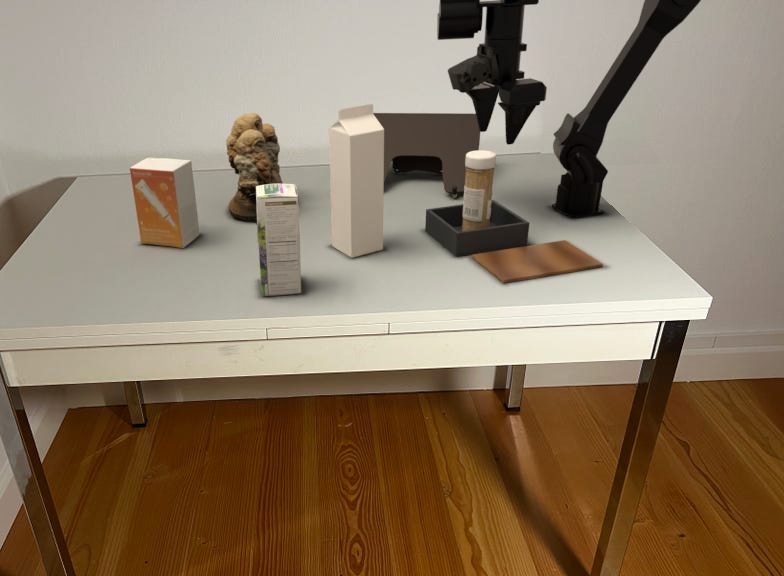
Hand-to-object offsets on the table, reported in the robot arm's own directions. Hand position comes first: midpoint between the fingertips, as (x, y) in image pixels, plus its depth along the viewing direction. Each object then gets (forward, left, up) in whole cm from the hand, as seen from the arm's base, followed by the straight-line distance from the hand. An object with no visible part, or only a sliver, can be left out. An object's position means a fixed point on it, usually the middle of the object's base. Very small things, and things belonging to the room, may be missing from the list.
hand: (496, 137), depth 126 cm
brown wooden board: (+4, +22, -13) cm, 26 cm away
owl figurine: (+37, -18, -13) cm, 43 cm away
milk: (+27, +7, -13) cm, 31 cm away
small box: (+55, -8, -13) cm, 57 cm away
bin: (+8, +10, -13) cm, 19 cm away
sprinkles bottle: (+8, +10, -13) cm, 18 cm away
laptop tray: (+5, -21, -13) cm, 25 cm away
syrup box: (+42, +17, -13) cm, 47 cm away
